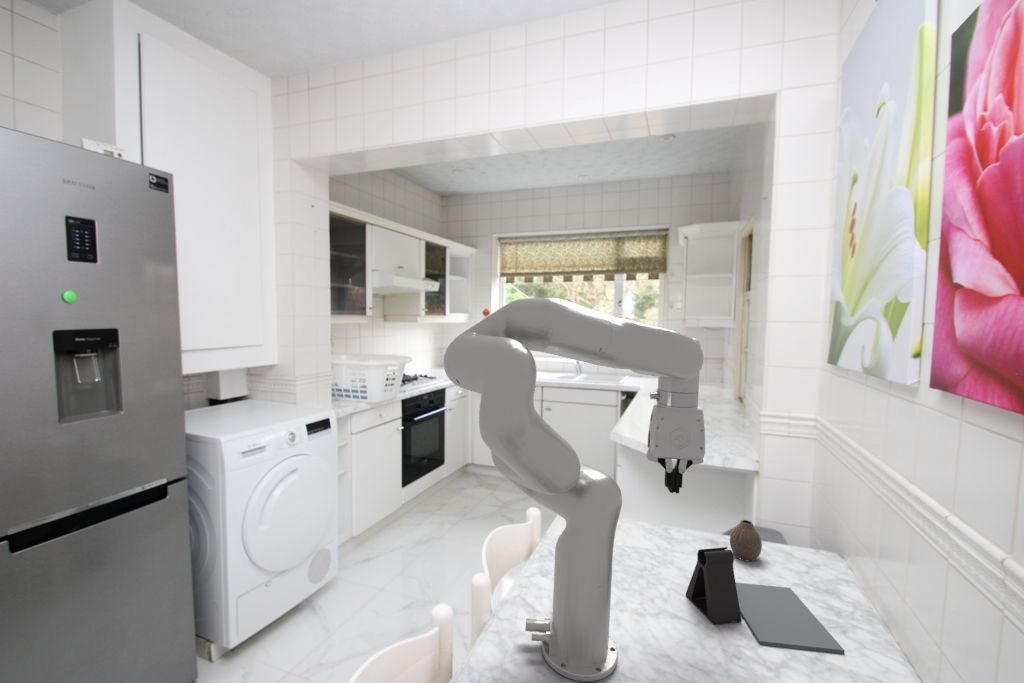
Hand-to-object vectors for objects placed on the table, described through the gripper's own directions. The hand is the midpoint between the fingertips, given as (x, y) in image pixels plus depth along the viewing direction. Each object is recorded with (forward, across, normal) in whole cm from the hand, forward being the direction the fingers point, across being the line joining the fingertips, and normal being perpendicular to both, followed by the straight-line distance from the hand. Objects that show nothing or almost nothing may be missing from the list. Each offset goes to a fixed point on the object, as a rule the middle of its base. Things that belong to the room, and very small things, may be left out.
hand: (672, 490), depth 87 cm
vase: (+24, +24, +22) cm, 40 cm away
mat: (+23, +21, 0) cm, 31 cm away
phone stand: (+23, +9, 0) cm, 25 cm away
